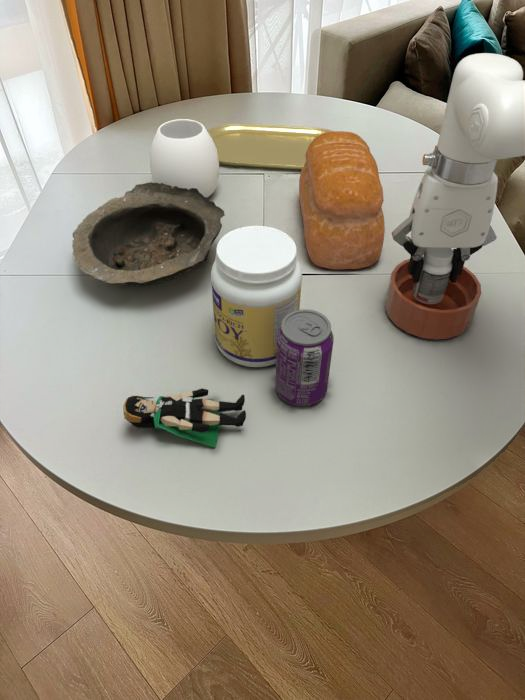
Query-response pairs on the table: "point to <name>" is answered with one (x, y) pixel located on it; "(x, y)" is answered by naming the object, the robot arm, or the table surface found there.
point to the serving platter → (263, 145)
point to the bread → (341, 202)
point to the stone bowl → (147, 235)
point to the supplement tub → (253, 292)
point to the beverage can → (303, 357)
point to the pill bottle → (434, 275)
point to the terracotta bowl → (432, 305)
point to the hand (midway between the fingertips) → (432, 276)
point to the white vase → (185, 156)
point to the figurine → (184, 415)
